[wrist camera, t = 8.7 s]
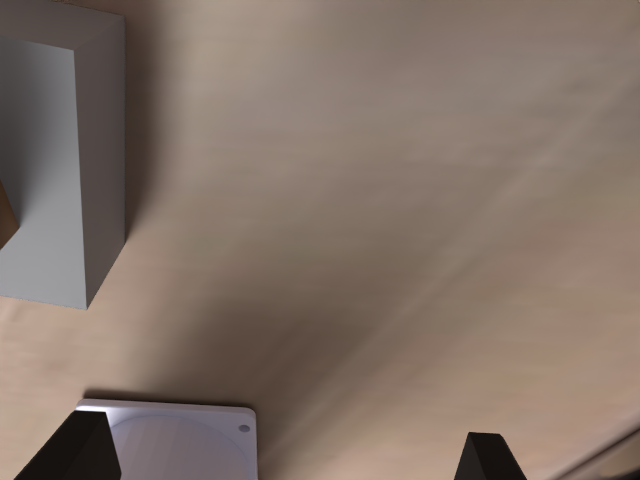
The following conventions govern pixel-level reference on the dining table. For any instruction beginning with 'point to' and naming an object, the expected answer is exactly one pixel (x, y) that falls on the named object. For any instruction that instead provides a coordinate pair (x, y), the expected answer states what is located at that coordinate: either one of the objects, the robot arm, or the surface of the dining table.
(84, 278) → the slate base block
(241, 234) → the dining table surface
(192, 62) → the dining table surface
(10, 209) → the walnut block
